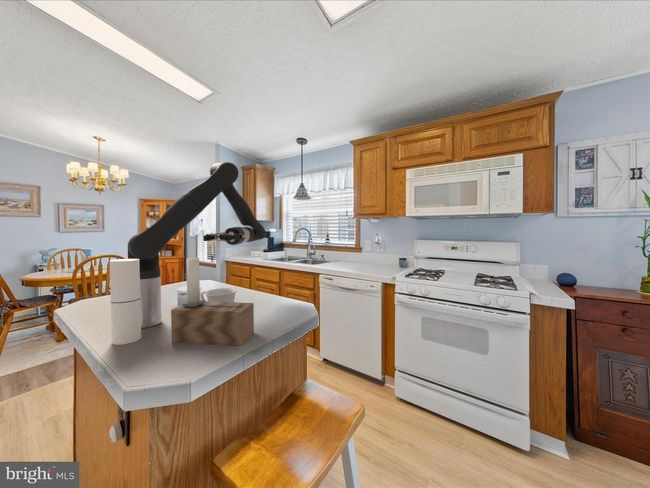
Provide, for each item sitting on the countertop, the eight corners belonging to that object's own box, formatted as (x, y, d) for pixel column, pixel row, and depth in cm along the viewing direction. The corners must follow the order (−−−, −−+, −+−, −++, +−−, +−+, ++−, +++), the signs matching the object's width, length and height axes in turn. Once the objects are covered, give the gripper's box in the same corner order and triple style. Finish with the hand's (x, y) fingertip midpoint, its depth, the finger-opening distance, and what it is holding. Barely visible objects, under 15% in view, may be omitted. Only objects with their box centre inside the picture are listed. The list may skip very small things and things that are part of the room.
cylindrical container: (117, 346, 73) (115, 261, 72) (108, 341, 76) (105, 260, 75) (145, 338, 79) (143, 259, 78) (135, 333, 82) (133, 258, 82)
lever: (182, 306, 78) (181, 259, 77) (192, 301, 83) (191, 257, 82) (195, 306, 77) (194, 259, 77) (204, 302, 82) (203, 257, 82)
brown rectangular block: (171, 342, 76) (171, 309, 76) (192, 329, 86) (191, 300, 86) (240, 345, 74) (240, 311, 73) (253, 332, 84) (253, 302, 83)
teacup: (210, 310, 108) (209, 287, 107) (242, 311, 106) (242, 288, 105) (191, 319, 96) (191, 294, 95) (227, 321, 94) (227, 295, 93)
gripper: (222, 227, 109) (196, 228, 93) (252, 226, 106) (231, 227, 91) (223, 244, 110) (198, 248, 94) (253, 243, 107) (232, 248, 91)
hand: (214, 238), depth 92 cm, fingers open, 8 cm apart
